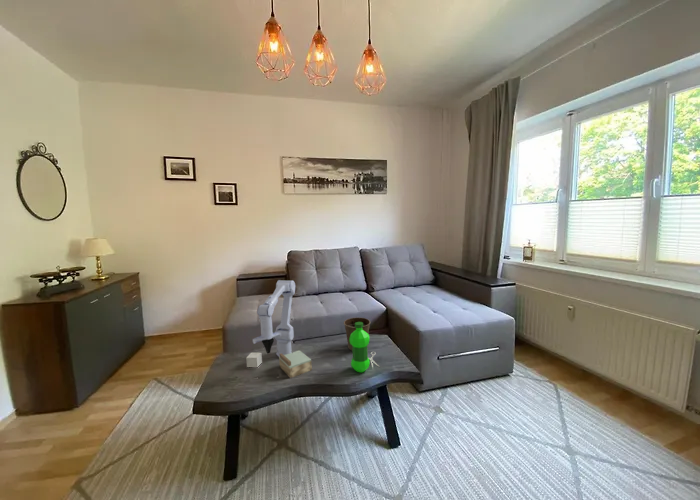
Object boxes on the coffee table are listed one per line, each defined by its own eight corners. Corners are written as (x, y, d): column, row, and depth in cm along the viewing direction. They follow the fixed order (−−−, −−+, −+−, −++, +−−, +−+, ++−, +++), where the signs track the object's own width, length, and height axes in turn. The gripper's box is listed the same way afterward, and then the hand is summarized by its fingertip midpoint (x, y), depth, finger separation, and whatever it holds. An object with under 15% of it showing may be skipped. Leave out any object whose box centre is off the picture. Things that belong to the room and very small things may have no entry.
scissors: (373, 350, 171) (386, 366, 152) (373, 351, 171) (386, 367, 152) (356, 352, 169) (367, 369, 149) (356, 354, 169) (367, 370, 149)
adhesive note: (262, 362, 161) (261, 352, 161) (257, 368, 155) (257, 357, 155) (251, 362, 162) (251, 352, 161) (247, 368, 156) (246, 357, 156)
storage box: (290, 378, 144) (289, 368, 144) (279, 367, 156) (279, 358, 155) (311, 370, 151) (311, 361, 151) (300, 360, 163) (299, 351, 162)
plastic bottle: (355, 363, 157) (353, 318, 154) (373, 367, 152) (372, 321, 149) (347, 372, 148) (345, 325, 145) (366, 376, 143) (364, 328, 140)
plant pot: (368, 354, 167) (367, 327, 165) (341, 352, 170) (340, 326, 169) (373, 342, 182) (372, 317, 181) (348, 341, 186) (347, 316, 184)
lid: (289, 368, 144) (289, 363, 143) (279, 358, 155) (278, 353, 155) (311, 360, 151) (311, 355, 150) (299, 351, 162) (299, 346, 162)
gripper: (254, 333, 141) (256, 359, 143) (282, 326, 150) (284, 351, 151) (250, 329, 147) (252, 354, 149) (277, 322, 156) (279, 346, 157)
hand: (268, 352), depth 150 cm, fingers closed
